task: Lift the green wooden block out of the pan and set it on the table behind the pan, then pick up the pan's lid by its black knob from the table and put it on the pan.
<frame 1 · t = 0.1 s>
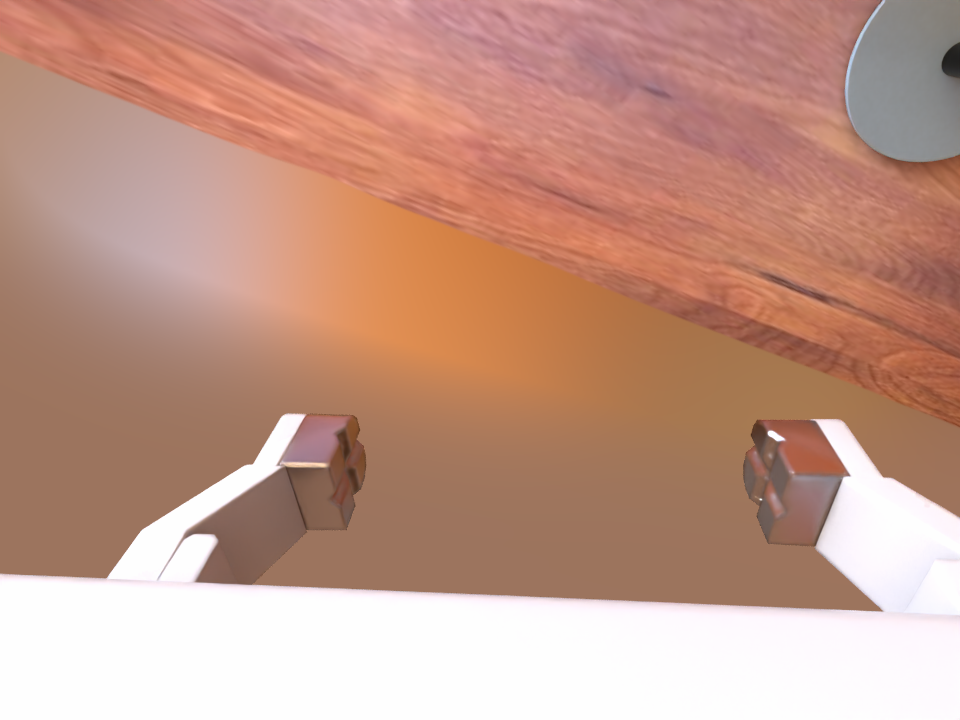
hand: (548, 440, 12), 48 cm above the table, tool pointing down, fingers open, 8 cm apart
pan lid: (954, 57, 47), point 1 cm above the table
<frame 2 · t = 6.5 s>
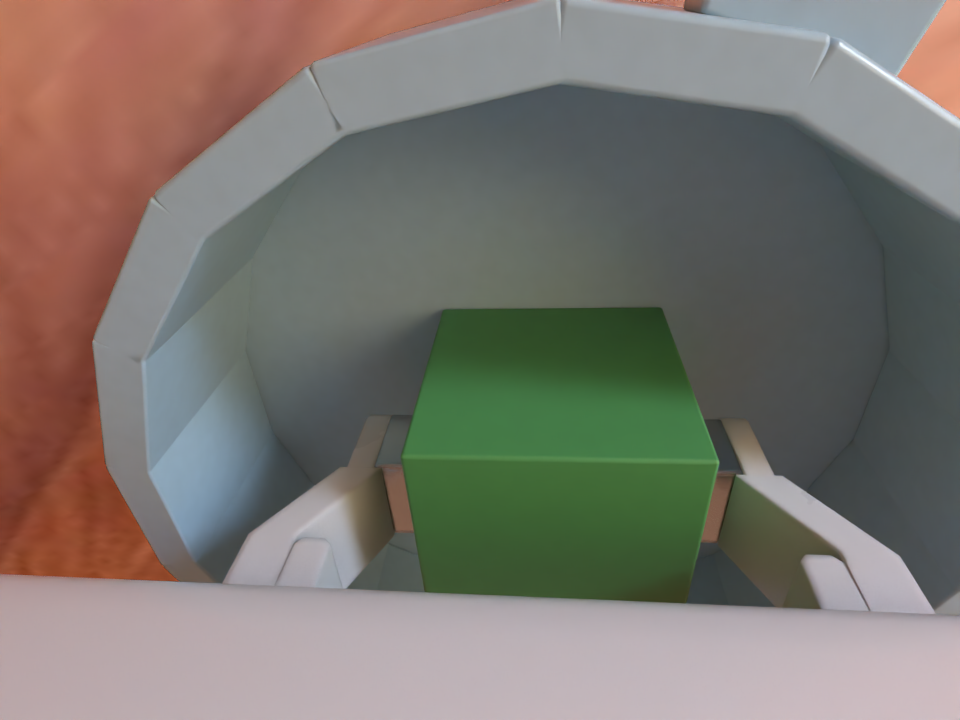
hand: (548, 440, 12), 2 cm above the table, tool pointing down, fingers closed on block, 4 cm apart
pan: (547, 381, 14), on the table
block: (549, 394, 13), point 1 cm above the table, touching gripper, pan
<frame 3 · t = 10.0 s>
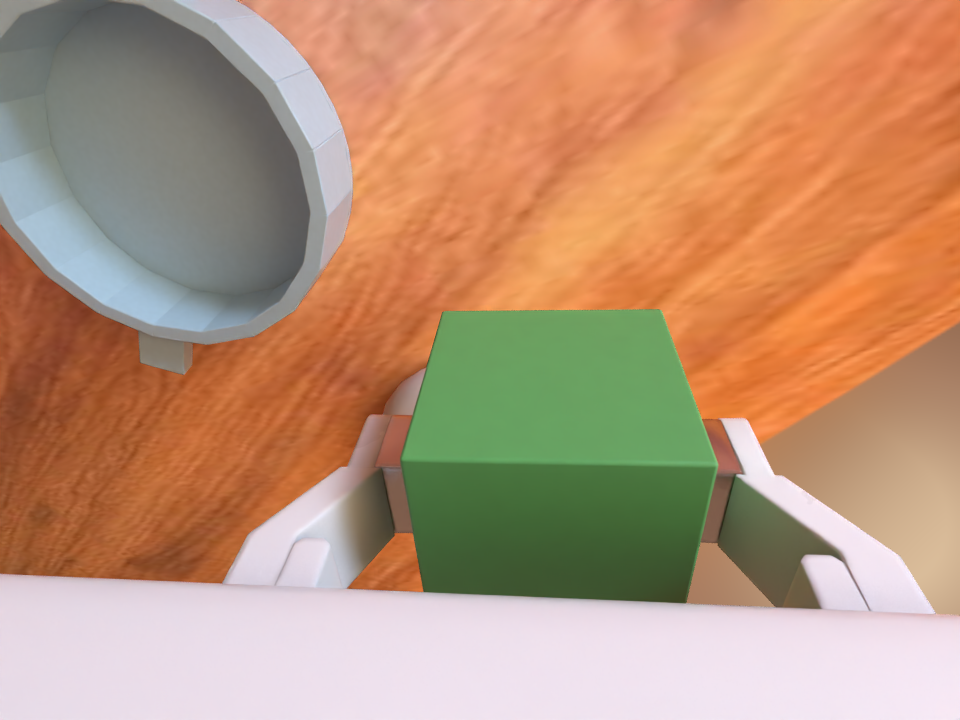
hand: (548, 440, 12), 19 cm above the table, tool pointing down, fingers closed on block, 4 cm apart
pan: (198, 163, 29), on the table
donut: (465, 415, 36), on the table
block: (548, 396, 13), point 17 cm above the table, touching gripper
when the fingers open (1 cm above the table, at t = 13.9 s): block stays where it is, on the table.
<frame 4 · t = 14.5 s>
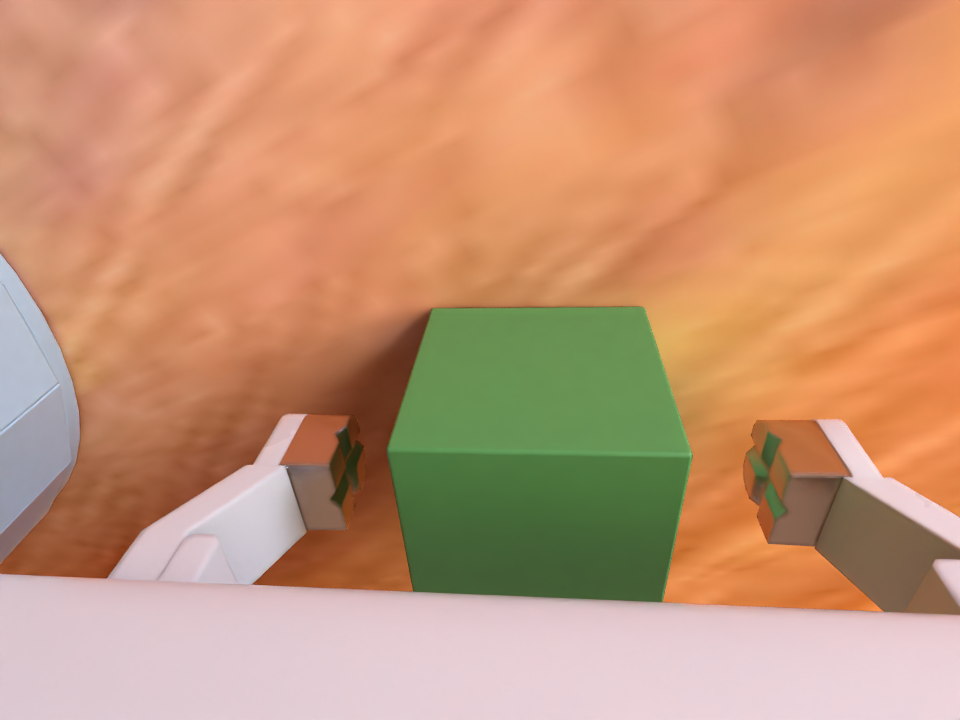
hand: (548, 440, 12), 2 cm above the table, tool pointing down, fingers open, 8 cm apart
block: (535, 391, 14), on the table
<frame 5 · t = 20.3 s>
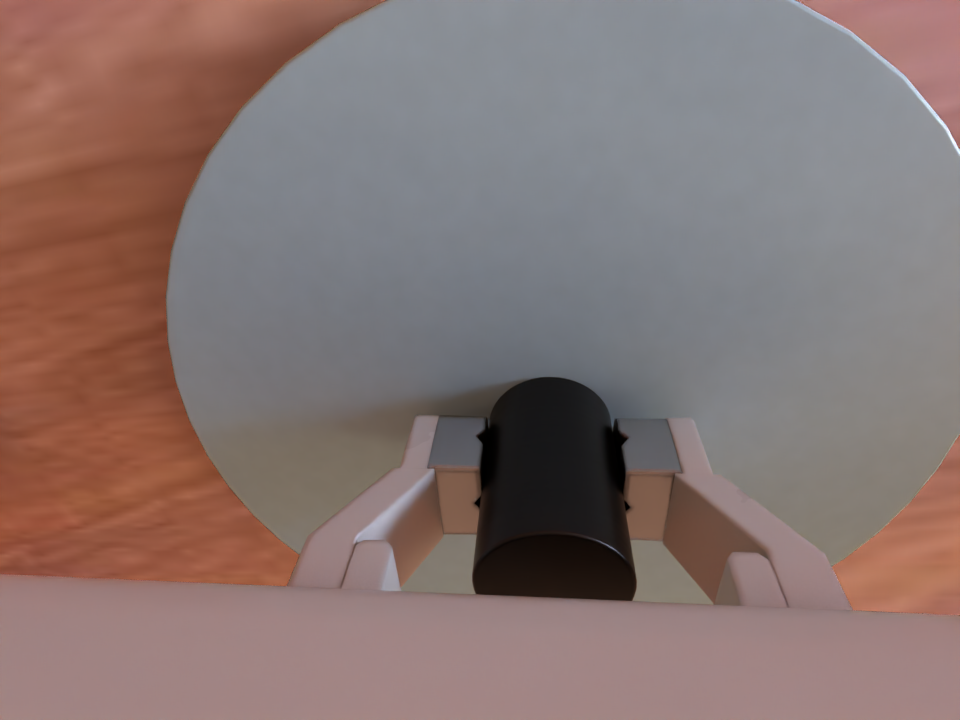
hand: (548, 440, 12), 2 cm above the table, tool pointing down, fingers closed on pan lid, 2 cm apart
pan lid: (549, 407, 13), point 1 cm above the table, touching gripper
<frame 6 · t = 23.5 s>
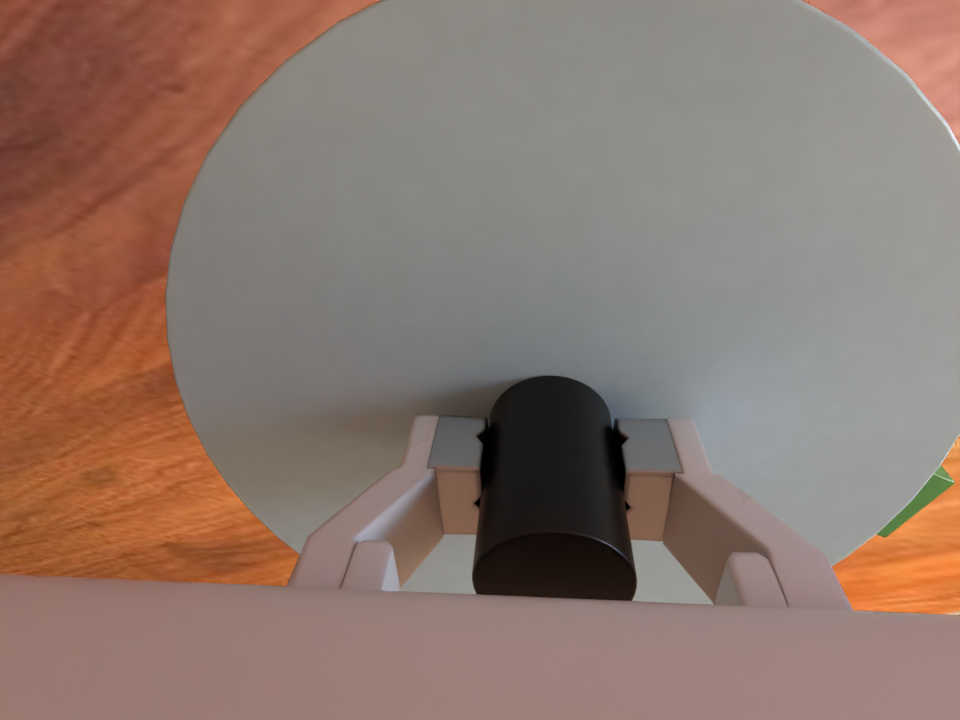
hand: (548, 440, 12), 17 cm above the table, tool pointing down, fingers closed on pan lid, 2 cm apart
pan lid: (549, 406, 13), point 16 cm above the table, touching gripper
block: (842, 436, 33), on the table
when the fingers open (5 cm above the table, at t = 26.9 s): pan lid stays where it is, resting on pan.
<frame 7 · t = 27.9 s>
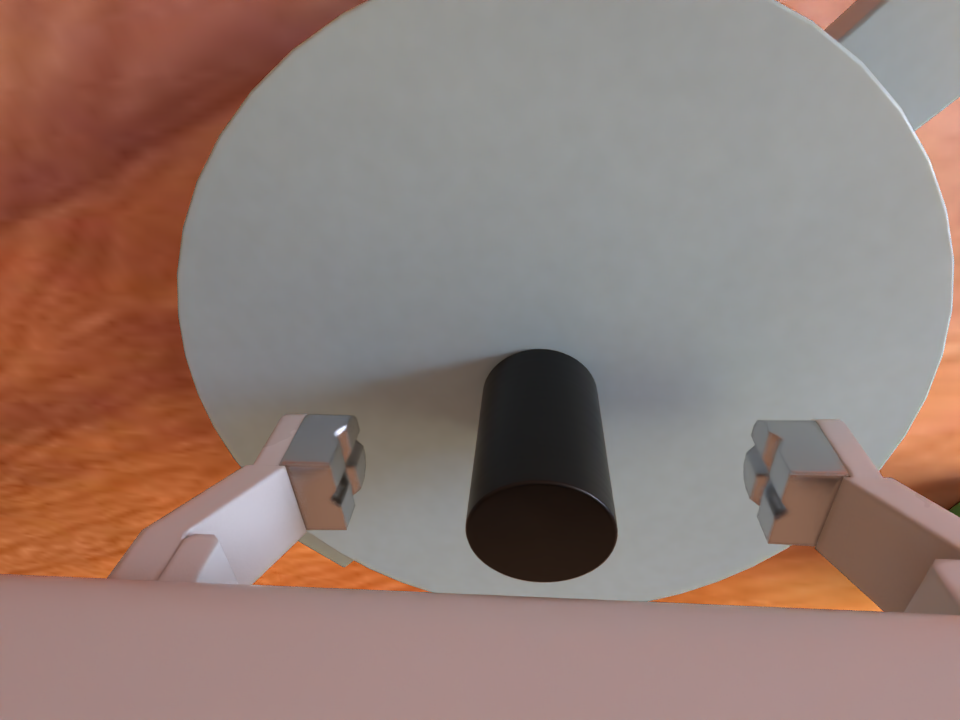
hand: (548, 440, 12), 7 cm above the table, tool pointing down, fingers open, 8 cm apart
pan: (539, 296, 17), on the table
pan lid: (539, 380, 14), point 4 cm above the table, touching pan
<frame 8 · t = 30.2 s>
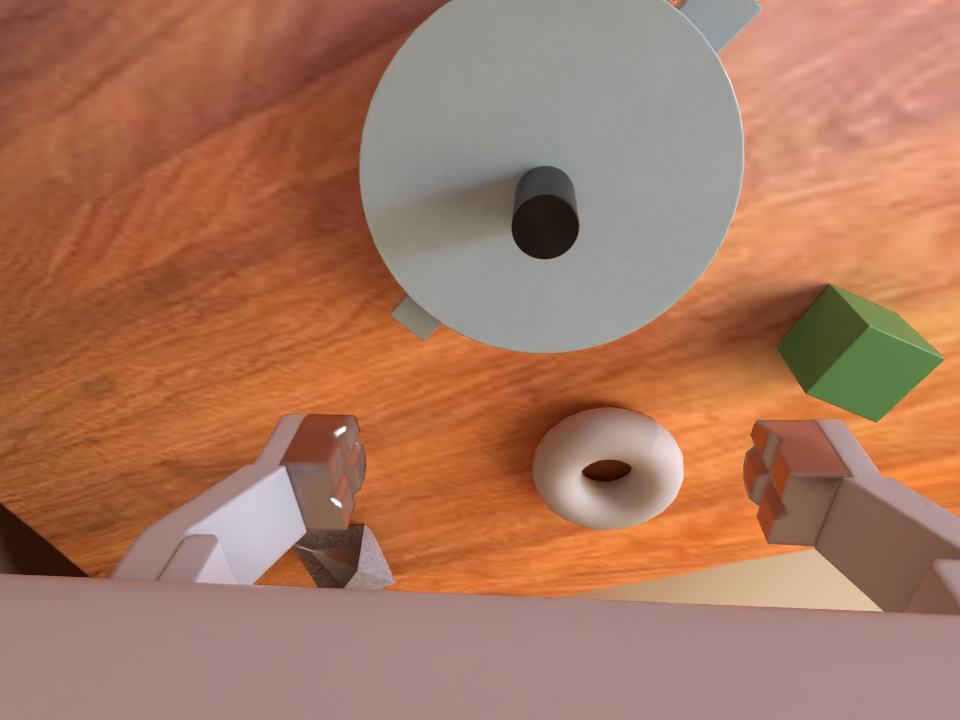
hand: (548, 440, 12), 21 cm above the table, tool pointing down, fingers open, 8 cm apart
pan: (544, 165, 29), on the table
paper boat: (351, 525, 47), on the table
pan lid: (544, 191, 26), point 4 cm above the table, touching pan
donut: (604, 451, 40), on the table
block: (835, 331, 33), on the table
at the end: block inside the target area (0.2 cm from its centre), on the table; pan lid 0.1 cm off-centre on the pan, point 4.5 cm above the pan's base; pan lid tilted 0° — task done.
